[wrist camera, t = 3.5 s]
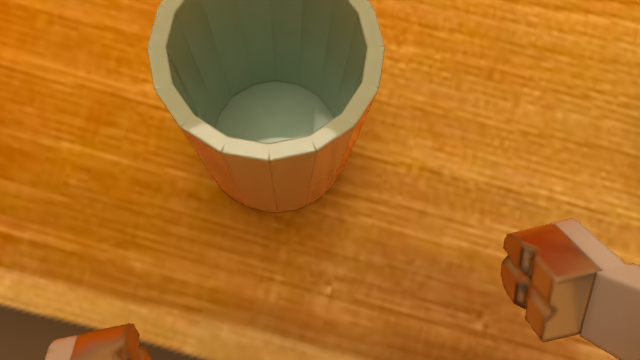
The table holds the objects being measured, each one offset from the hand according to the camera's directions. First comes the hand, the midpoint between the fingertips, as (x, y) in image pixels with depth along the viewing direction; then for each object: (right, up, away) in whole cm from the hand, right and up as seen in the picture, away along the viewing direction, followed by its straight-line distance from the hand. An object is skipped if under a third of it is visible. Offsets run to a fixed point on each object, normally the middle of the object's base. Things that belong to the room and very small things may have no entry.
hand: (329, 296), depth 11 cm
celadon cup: (-2, +4, +12) cm, 12 cm away
